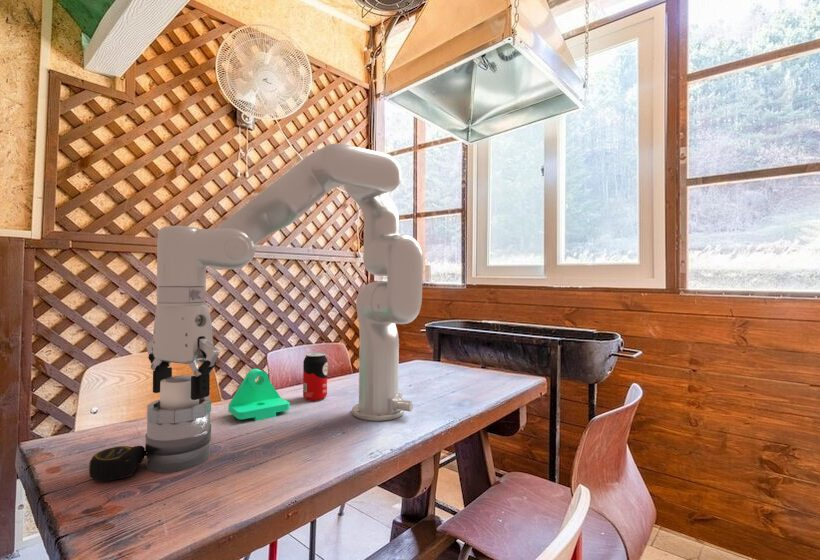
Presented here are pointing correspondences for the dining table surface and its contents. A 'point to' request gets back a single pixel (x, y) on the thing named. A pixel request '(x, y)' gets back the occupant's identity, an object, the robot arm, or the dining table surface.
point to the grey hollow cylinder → (177, 436)
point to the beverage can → (315, 376)
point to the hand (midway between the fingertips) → (180, 394)
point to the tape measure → (116, 462)
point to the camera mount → (257, 398)
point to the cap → (176, 393)
